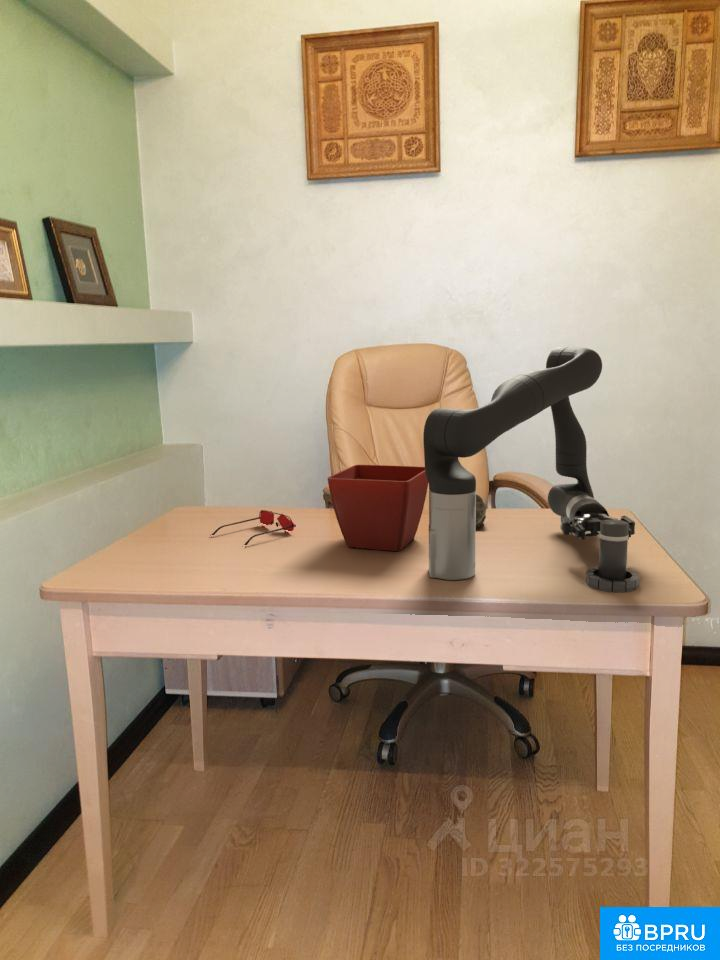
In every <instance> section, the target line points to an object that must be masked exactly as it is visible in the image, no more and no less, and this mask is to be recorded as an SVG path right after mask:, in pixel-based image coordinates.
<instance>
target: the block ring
mask: <svg viewBox="0 0 720 960" xmlns="http://www.w3.org/2000/svg"><path fill="white" fill-rule="evenodd" d="M598 572H599V565H598V566H594V567H591V568H588V570H586V571H585V583H586V585H587V586H588V587H591V588H593V589H594V590H598V591H603V592H610V593H628V592H632V591H636V590H637V589H638V588H639V587H640V575H639V573H637V571H634V570H632V569H629V568H627V567H626V579H624V580H611V579H605V578H601V577H598Z"/></svg>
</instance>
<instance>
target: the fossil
mask: <svg viewBox="0 0 720 960" xmlns="http://www.w3.org/2000/svg"><path fill="white" fill-rule="evenodd" d="M486 514H487V504H486V503H485V502H484V500H483V498H482V497H481V495H480V494H478V493H476V529H477V528H479V527H480V526H481V525H483V524H484V523H485V520H486V517H487V515H486Z"/></svg>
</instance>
